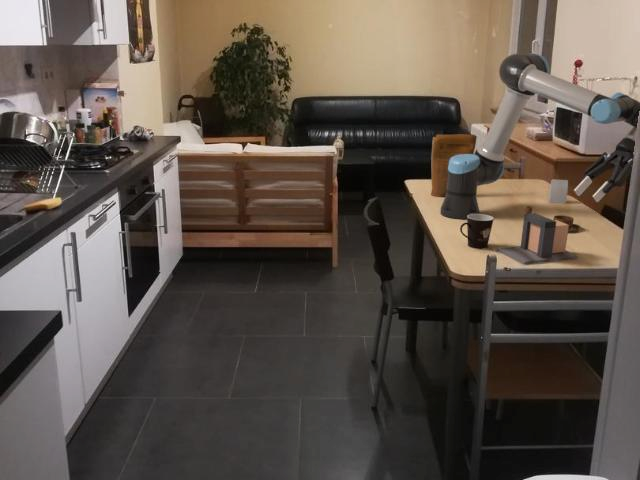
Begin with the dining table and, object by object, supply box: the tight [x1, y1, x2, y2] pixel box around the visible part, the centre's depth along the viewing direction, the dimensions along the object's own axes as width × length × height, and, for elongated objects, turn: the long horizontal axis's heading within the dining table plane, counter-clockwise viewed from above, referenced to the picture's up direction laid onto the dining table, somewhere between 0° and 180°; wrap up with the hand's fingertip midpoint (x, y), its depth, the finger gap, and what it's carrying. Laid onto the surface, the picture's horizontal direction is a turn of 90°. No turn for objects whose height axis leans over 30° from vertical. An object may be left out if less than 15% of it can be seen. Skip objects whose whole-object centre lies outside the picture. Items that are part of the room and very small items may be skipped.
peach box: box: [528, 220, 570, 253], centre depth 204 cm, size 10×6×9 cm, turn 109°
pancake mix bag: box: [430, 133, 478, 198], centre depth 277 cm, size 7×19×28 cm, turn 85°
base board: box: [497, 245, 579, 265], centre depth 204 cm, size 20×14×1 cm
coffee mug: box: [459, 213, 495, 250], centre depth 211 cm, size 12×9×10 cm
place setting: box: [525, 205, 586, 234], centre depth 238 cm, size 18×20×6 cm
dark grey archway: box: [520, 212, 556, 258], centre depth 202 cm, size 4×11×12 cm, turn 19°
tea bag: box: [547, 178, 569, 205], centre depth 274 cm, size 4×7×10 cm, turn 80°
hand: (585, 196), depth 204 cm, fingers open, 8 cm apart
